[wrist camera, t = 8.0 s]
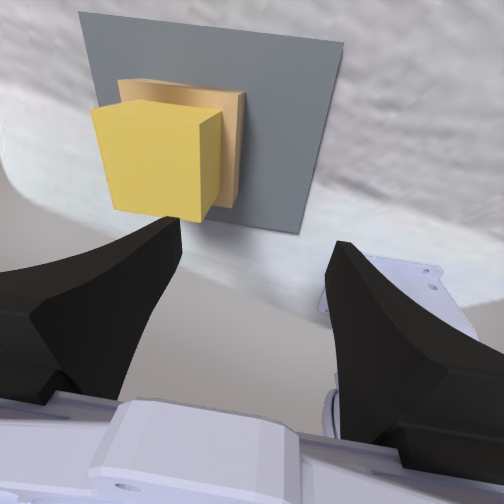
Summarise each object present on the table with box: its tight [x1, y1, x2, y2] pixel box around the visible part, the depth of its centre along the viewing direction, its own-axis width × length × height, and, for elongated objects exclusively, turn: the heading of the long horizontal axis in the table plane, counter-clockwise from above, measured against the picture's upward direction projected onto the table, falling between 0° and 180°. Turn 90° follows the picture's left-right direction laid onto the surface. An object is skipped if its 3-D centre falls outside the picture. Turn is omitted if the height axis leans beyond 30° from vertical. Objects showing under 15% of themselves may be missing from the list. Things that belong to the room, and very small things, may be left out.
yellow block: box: [90, 100, 222, 223], centre depth 15 cm, size 5×5×4 cm
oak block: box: [118, 78, 246, 208], centre depth 18 cm, size 7×7×3 cm
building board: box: [78, 11, 344, 233], centre depth 19 cm, size 16×13×1 cm
